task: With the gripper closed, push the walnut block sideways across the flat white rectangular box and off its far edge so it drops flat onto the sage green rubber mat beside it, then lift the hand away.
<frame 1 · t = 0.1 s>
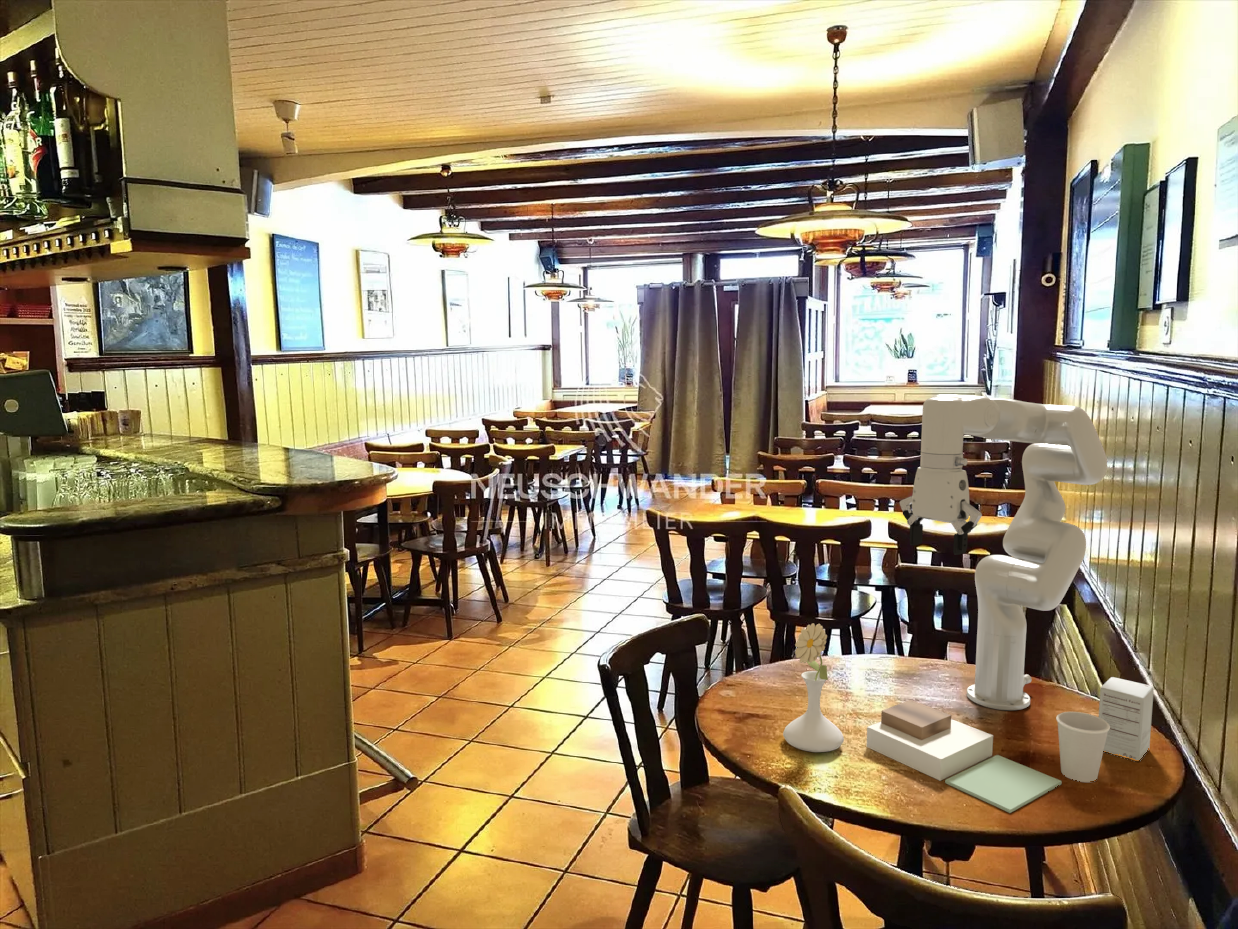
hand: (937, 549, 165), 37 cm above the table, tool pointing down, fingers open, 9 cm apart
green mat: (1003, 783, 148), on the table
walnut block: (915, 725, 162), point 4 cm above the table, touching flat white rectangular box
flower in vase: (813, 747, 163), on the table
supplement box: (1122, 751, 160), on the table
dixie cup: (1079, 775, 151), on the table
flat white rectangular box: (928, 751, 160), on the table
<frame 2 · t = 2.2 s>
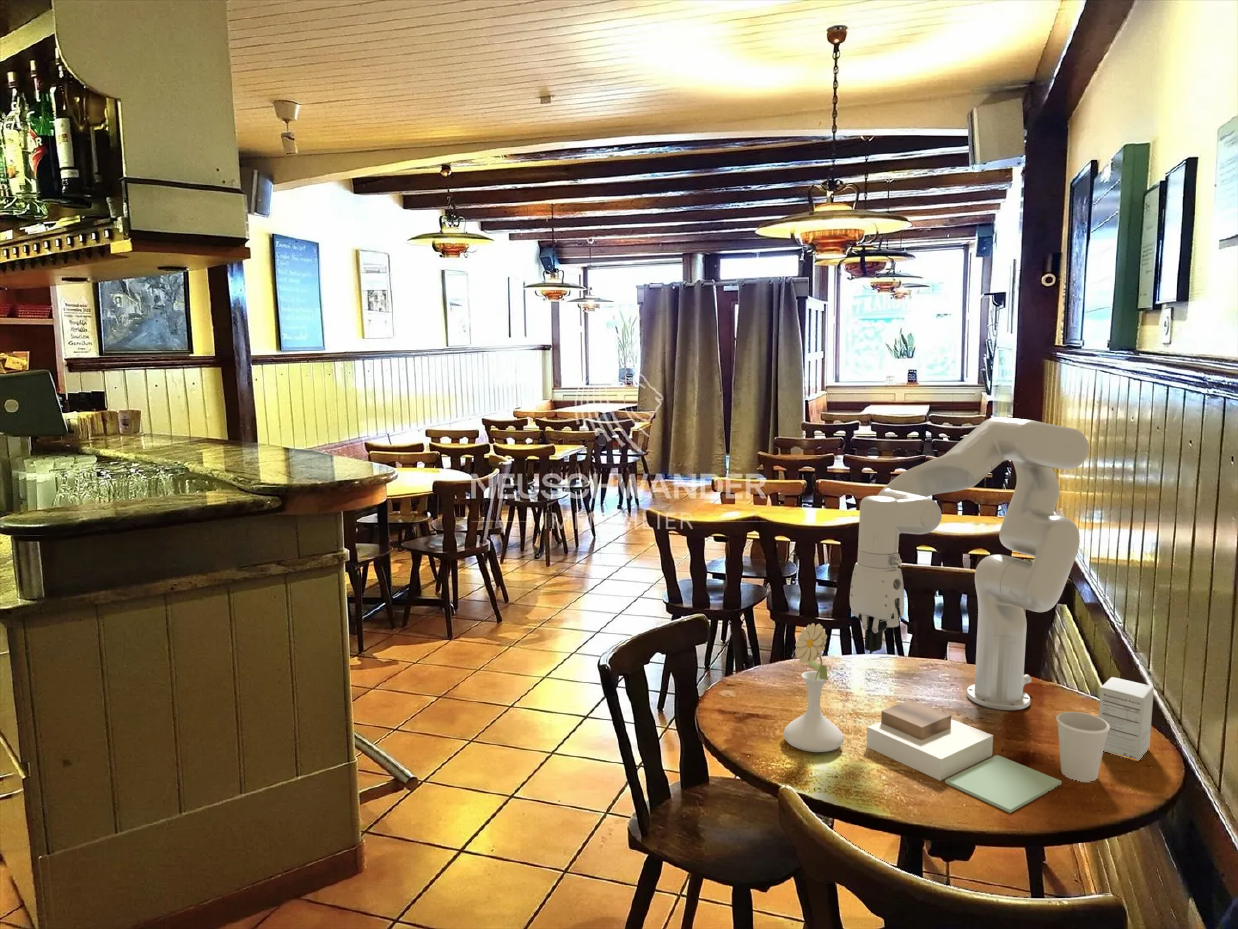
hand: (873, 649, 169), 16 cm above the table, tool pointing down, fingers closed
nothing on the table moved.
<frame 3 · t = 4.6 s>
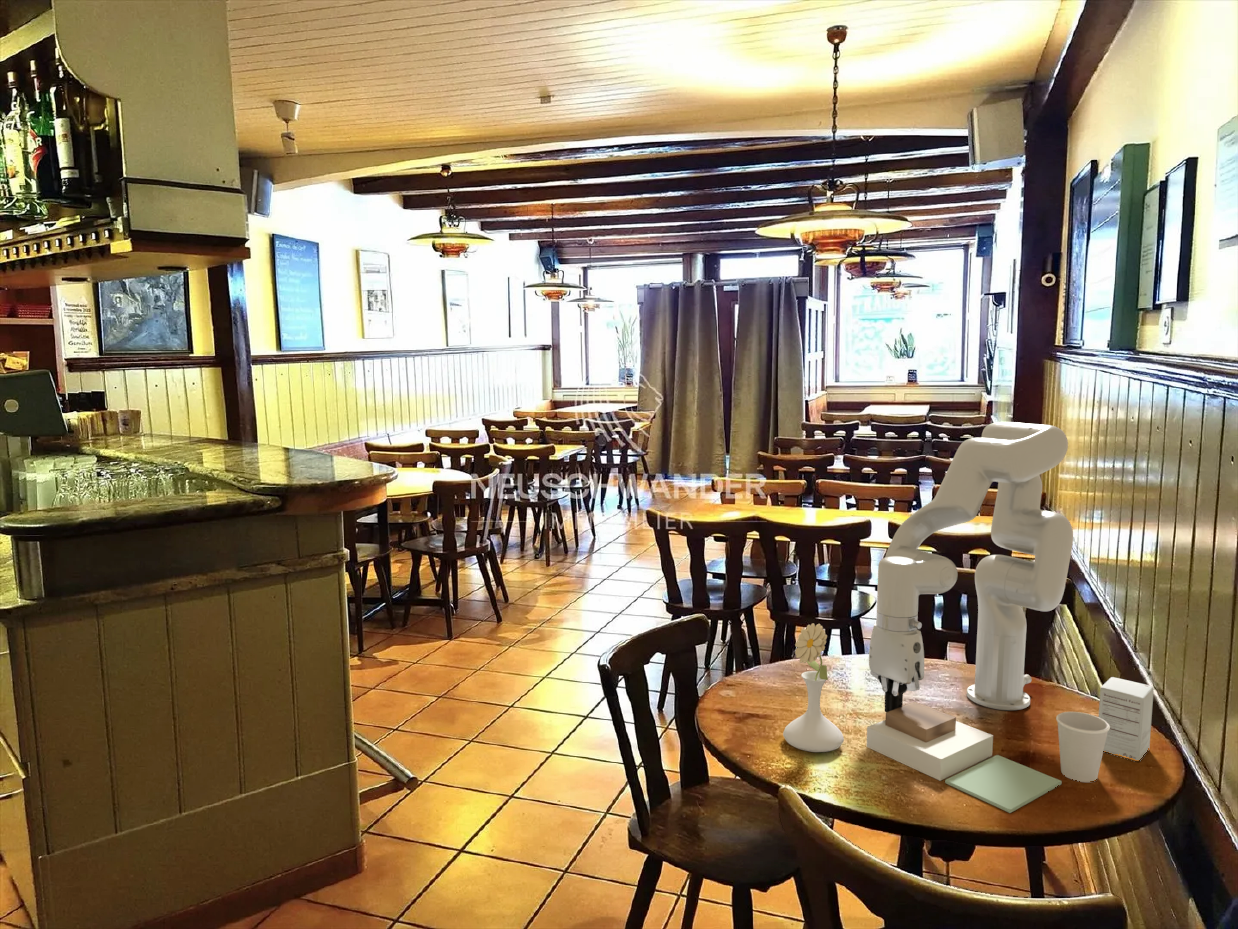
hand: (893, 711, 166), 5 cm above the table, tool pointing down, fingers closed
walnut block: (920, 727, 161), point 4 cm above the table, touching gripper
everything else where it was.
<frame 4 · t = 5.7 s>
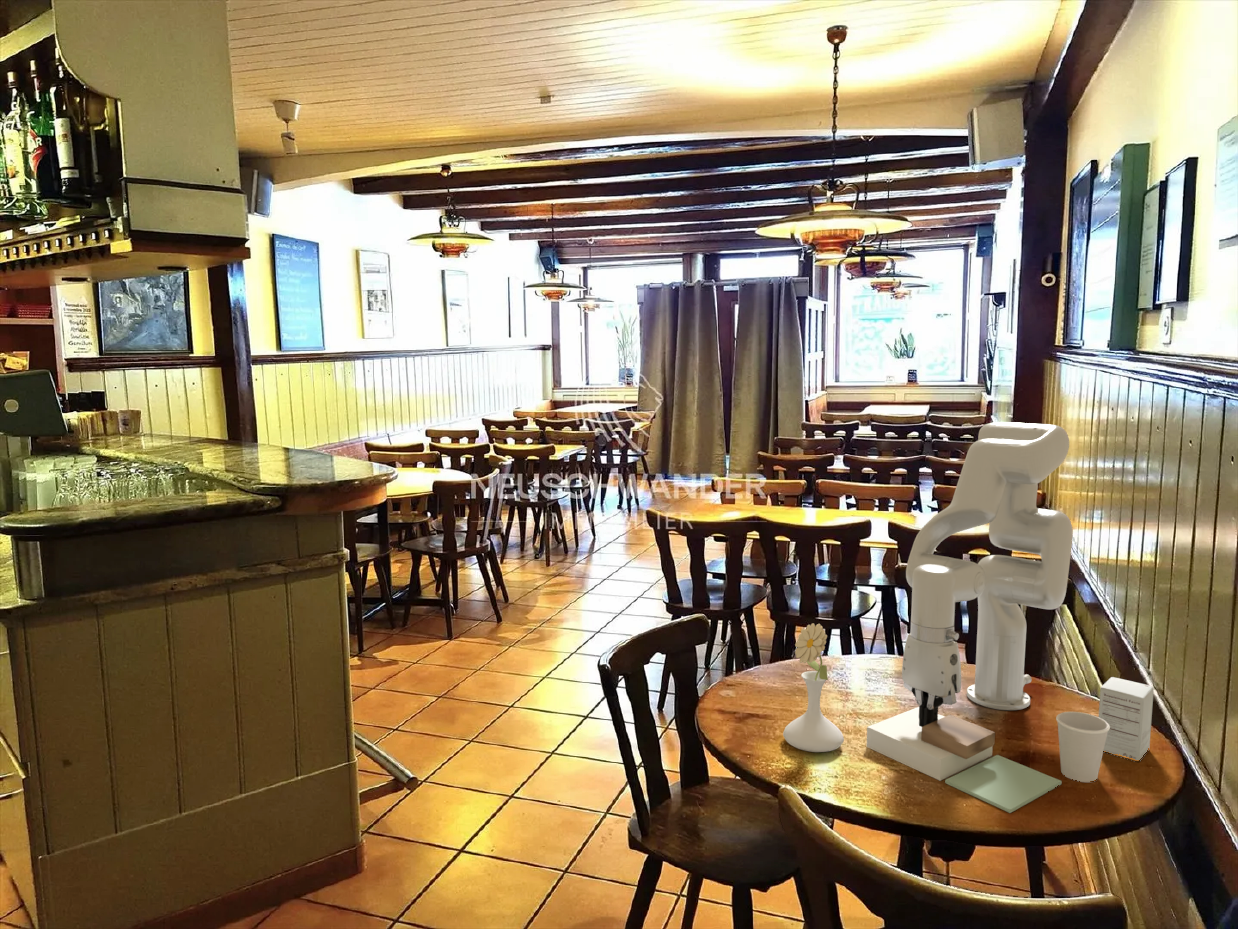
hand: (927, 725, 160), 5 cm above the table, tool pointing down, fingers closed
walnut block: (957, 742, 155), point 4 cm above the table, touching flat white rectangular box, gripper
everything else where it was.
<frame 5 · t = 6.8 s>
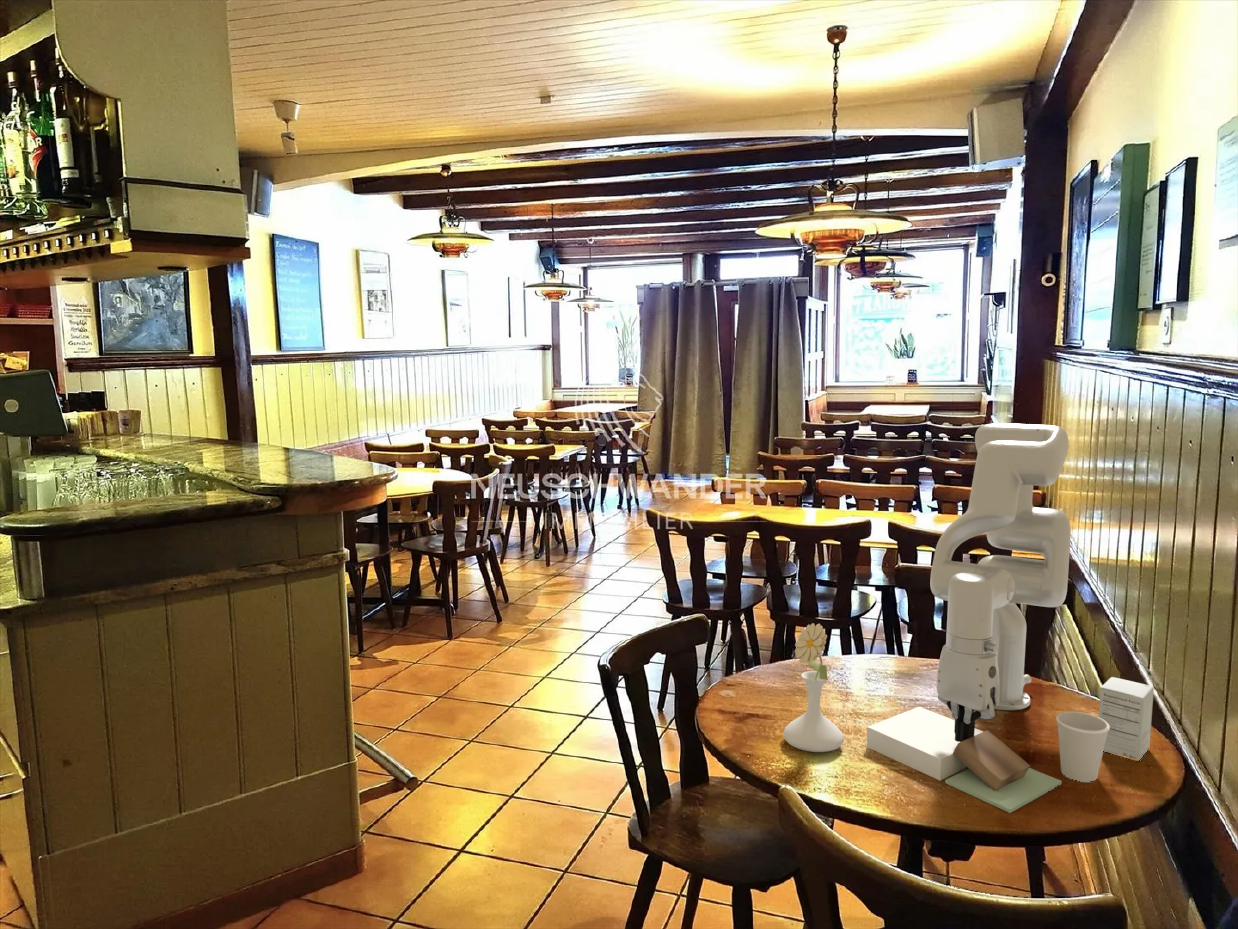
hand: (963, 740, 154), 5 cm above the table, tool pointing down, fingers closed
walnut block: (988, 764, 150), point 2 cm above the table, tilted 22°, touching gripper
everything else where it was.
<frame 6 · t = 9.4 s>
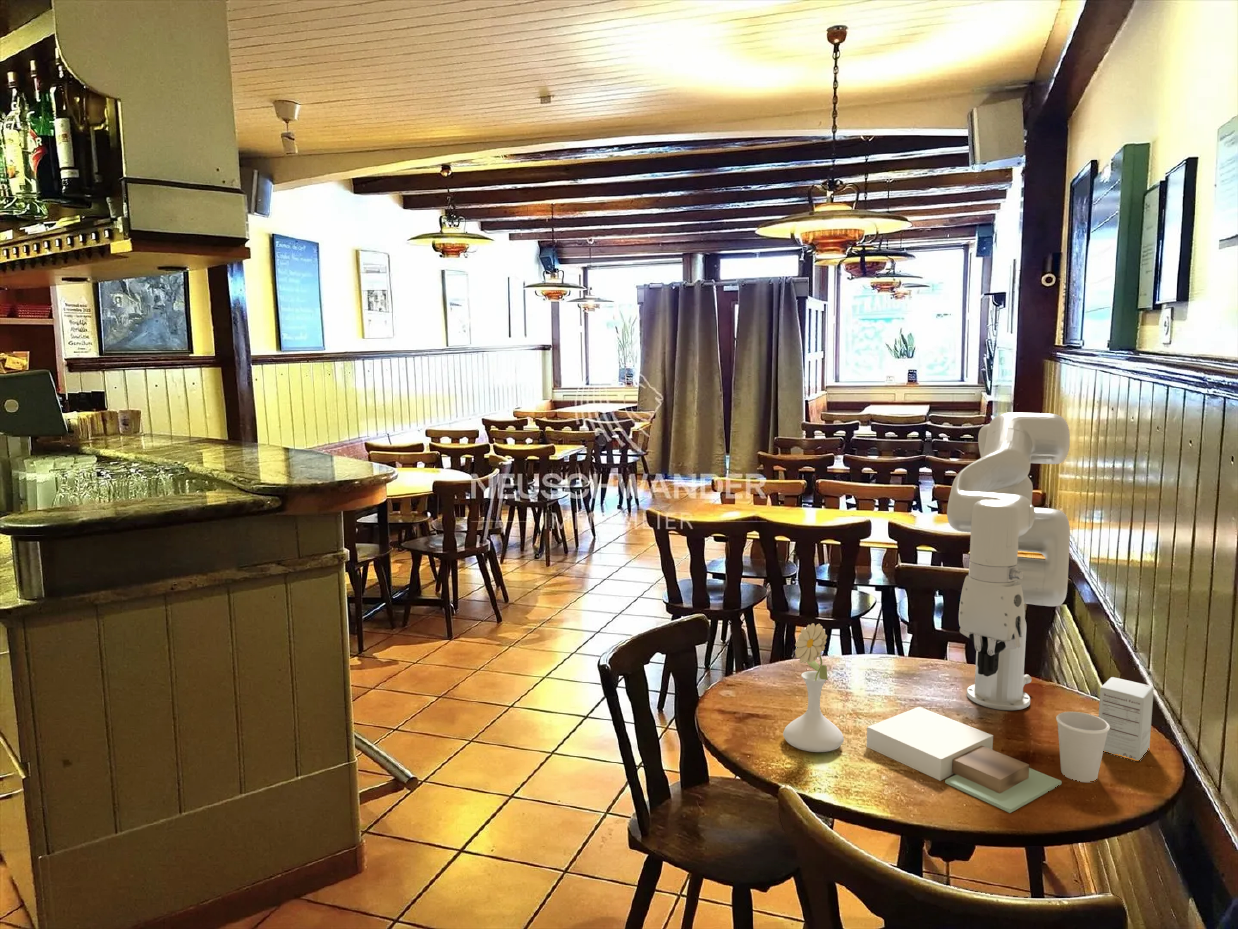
hand: (987, 673, 149), 19 cm above the table, tool pointing down, fingers closed
walnut block: (990, 775, 150), point 1 cm above the table, touching green mat
everything else where it was.
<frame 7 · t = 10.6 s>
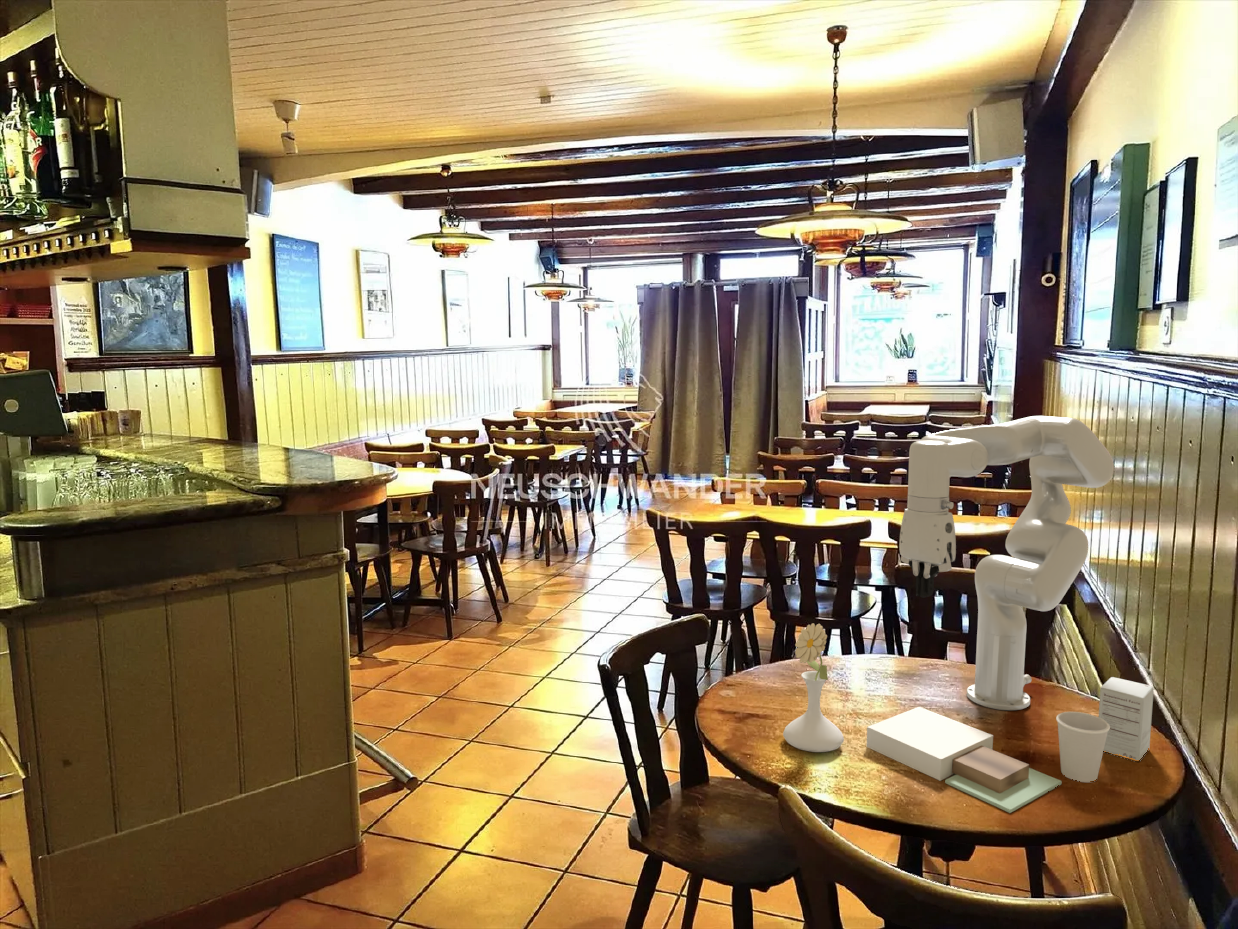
hand: (924, 595, 168), 27 cm above the table, tool pointing down, fingers closed
nothing on the table moved.
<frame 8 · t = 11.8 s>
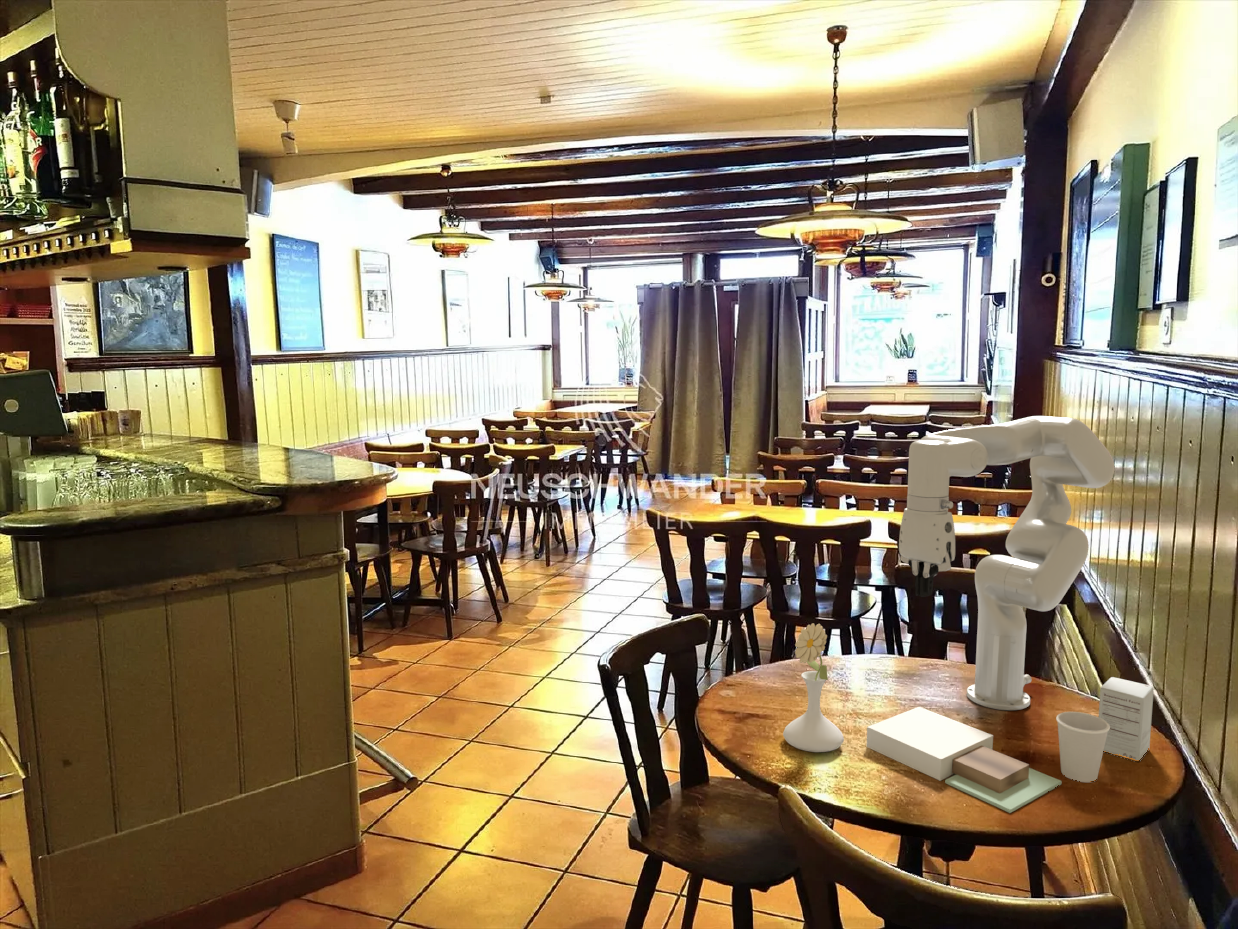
hand: (923, 595, 168), 27 cm above the table, tool pointing down, fingers closed
nothing on the table moved.
at the end: walnut block inside the target area on the green mat (2.4 cm from its centre), point 0.6 cm above the green mat's base; walnut block tilted 0° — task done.
